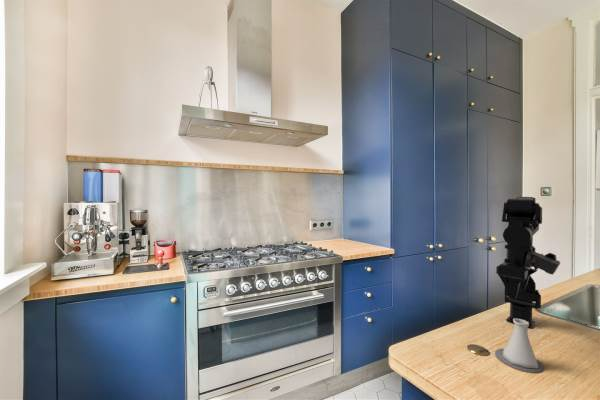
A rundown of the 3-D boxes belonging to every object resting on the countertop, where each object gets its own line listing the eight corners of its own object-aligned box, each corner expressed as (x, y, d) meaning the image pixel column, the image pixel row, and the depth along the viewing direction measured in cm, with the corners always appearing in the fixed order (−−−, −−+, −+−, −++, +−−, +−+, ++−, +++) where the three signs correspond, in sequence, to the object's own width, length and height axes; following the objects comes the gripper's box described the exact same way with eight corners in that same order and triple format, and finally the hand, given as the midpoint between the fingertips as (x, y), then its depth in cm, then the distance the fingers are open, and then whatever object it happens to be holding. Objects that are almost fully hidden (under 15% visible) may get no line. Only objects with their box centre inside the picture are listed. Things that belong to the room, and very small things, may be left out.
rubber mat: (501, 345, 75) (501, 344, 75) (546, 362, 68) (546, 361, 68) (489, 358, 69) (489, 357, 69) (538, 378, 62) (538, 377, 62)
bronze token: (471, 343, 77) (471, 342, 77) (491, 351, 73) (491, 350, 73) (464, 349, 73) (464, 348, 73) (485, 358, 70) (485, 357, 69)
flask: (508, 365, 66) (509, 325, 66) (497, 349, 73) (498, 313, 73) (544, 372, 64) (546, 330, 64) (530, 355, 71) (531, 317, 70)
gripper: (551, 251, 66) (548, 314, 66) (563, 243, 78) (561, 296, 78) (496, 243, 74) (494, 300, 75) (514, 237, 86) (513, 286, 87)
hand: (517, 295), depth 78 cm, fingers open, 9 cm apart
